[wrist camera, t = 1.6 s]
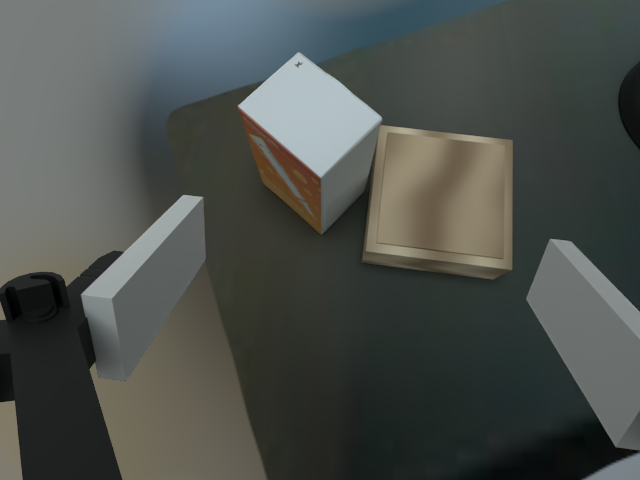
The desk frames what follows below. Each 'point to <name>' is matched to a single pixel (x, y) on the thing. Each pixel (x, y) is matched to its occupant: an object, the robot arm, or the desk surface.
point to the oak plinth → (440, 203)
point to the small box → (311, 140)
